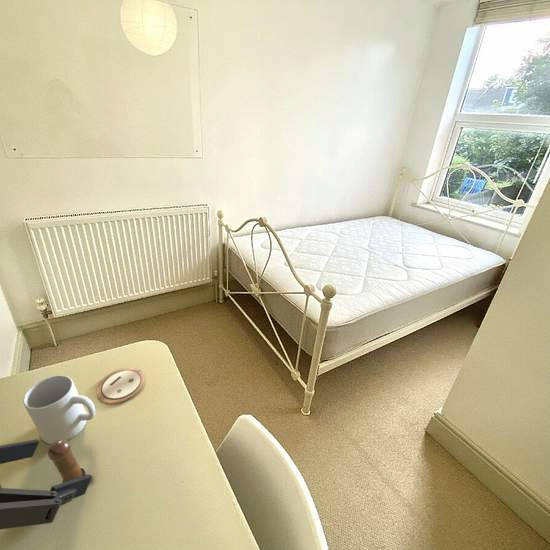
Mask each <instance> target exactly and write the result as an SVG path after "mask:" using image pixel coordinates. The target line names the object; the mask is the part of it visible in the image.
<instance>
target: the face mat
mask: <svg viewBox="0 0 550 550" xmlns="http://www.w3.org/2000/svg"><path fill="white" fill-rule="evenodd" d="M146 380H147V379H146V375H145V373H144V372H143V371H142V370H141V369H139V368H137V367H123V368H119V369H116V370H114V371H112V372H110V373H109V374H107V375H106V376H105V377H104V378H103V379H102V380H100V382H99V383H98V385H97V388H96V395H97V398H98V399H99V401H101V402H102V403H105V404H109V405H117V404H121V403H124V402H127V401H129V400H131V399H134V397H136V396H137V395H138V394H139V393H140V392H141V391H142V390H143V388H144V387H145V385H146Z"/></svg>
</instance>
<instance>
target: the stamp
mask: <svg viewBox="0 0 550 550" xmlns="http://www.w3.org/2000/svg"><path fill="white" fill-rule="evenodd" d="M47 457H48V459H49V460H50V461H51V462H52V463H53V464H54V466H55V469H56V470H57V472H58V473H59V476H60V477H61V479H62V482H61V483H64V482H67V481H70V480H73V479H76V478H79V477H82V476H85V475H88V474H87V472H86V470H85V469H84V468H82V467H81V466H80V464H79V463H78V460H77V458H76V456H75V455H74V451H73V450H72V444H71V443H70V441H69V440H68V441H67V440H58V441H56V442H54V443H53V444H50V446H49V448H48V450H47Z"/></svg>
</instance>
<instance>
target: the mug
mask: <svg viewBox="0 0 550 550" xmlns="http://www.w3.org/2000/svg"><path fill="white" fill-rule="evenodd" d="M22 403H23V406H24V408H25V410H26V412H27V413H28V415H29V417H30V419H31V421H32V422H33V425H34V426H35V428H36V430H37V432H38V434H39V436H40V438H41V439H42V441H43V442H45V443H46V444H50V445H52V444H53V443H54V442H56V441H58V440H67V441H68V442H69V440H71V439H73V438H74V437H76V436H77V435H78V434H80V432H81V431H82V430H83V429H84V427H85V426H86V424H87V421H91V420H93V419H94V418H95V416H96V414H97V413H96V406H95V404H94V402H93V401H92V399H91V398H89V397H88V396H86V395H85V396H84V395H81V394H80V395H79V392H78V390H77V388H76V385H75V383H74V381H73V379H72V378H71V377H69V376H67V375H64V374H63V375H60V374H59V375H58V374H57V375H52V376H49V377H46V378H43V379H41V380H40V381H38V382H36V383H35V384H34V385H33V386H31V387H30V388H29V389H28V390H27V391H26V392H25V394H24V396H23V401H22ZM85 407H86V408H85ZM86 409H87V410H88V412H87V411H86Z"/></svg>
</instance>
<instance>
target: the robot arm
mask: <svg viewBox="0 0 550 550" xmlns="http://www.w3.org/2000/svg"><path fill="white" fill-rule="evenodd" d="M39 444H40V440H39V439H37V438H36V439H32V440H26V441H25V440H24V441H19V442H13V443H8V444H1V445H0V465H3V464H6V463H11V462H17V461H21V460H24V459H25V460H26V459H30V458H33V457H34V454H35V452H36V450H37V448H38V446H39ZM92 478H93V475H91V474H90V473H89V474H87V475H85V476H82V477H79V478H76V479H73V480H70V481H67V482H64V483H62V482H61V483H58V484H55V485H52V486H51V487H50V490H47V489H46V490H43V489H26V488H11V487H9V488H8V487H2V484H0V530H4V529H5V530H6V529H7V530H8V529H14V528H22V527H23V528H24V527H29V526H30V527H31V526H38V525H39V526H40V525H45V524H51V523H53V522H54V521H55V519H56V516H57V514H58V513H59V512H58V511H59V509H60V507H61V506H63V505H66V504H68V503H71V502H72V501H73V499H76V498H79V497H81V496H84V495H85V494H86V493H87V490H88V488H89V485H90V483H91V481H92Z"/></svg>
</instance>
